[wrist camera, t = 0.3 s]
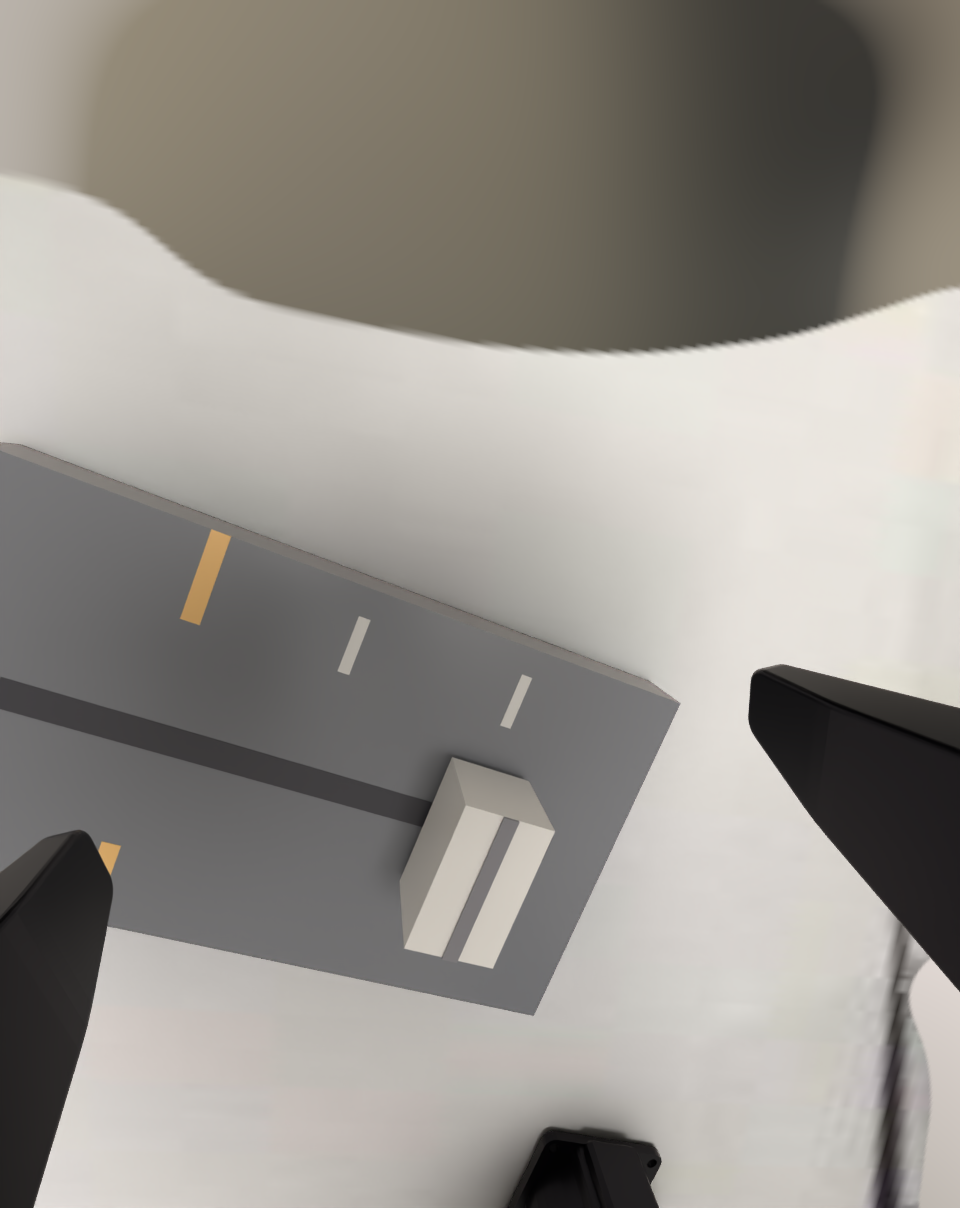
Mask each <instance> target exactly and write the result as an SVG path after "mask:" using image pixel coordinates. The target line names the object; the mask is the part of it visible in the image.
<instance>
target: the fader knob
mask: <svg viewBox="0 0 960 1208" xmlns="http://www.w3.org/2000/svg"><path fill="white" fill-rule="evenodd" d="M554 833H555V830H554V828H553V826H552V824H551V823H550V821H549V819H548V817H547V815H546V813H545V811H544V809H543V807H542V805H541V803H540V801H539V799H538V798H537V796H536V794H535V792H534V790H533V788H532V786H531V784H530V782H529V781H527V780H524V779H521V778H517V777H514V776H511V775H508V774H505V773H501V772H498V771H495V770H492V769H489V768H485V767H482V766H479V765H476V764H473V763H469V762H466V761H463V760H460V759H457V758H453V757H452V759H451V761H450V763H449V766H448V768H447V770H446V773H445V775H444V777H443V780H442V782H441V784H440V787H439V789H438V792H437V794H436V796H435V799H434V801H433V803H432V806H431V808H430V810H429V813H428V815H427V818H426V820H425V822H424V825H423V827H422V829H421V832H420V834H419V836H418V839H417V841H416V843H415V846H414V848H413V851H412V853H411V855H410V858H409V860H408V862H407V865H406V867H405V869H404V872H403V874H402V876H401V879H400V896H401V911H402V926H403V941H404V949H408V950H412V951H417V952H421V953H426V954H430V955H434V956H439V957H442V960H446V961H450V962H455V963H457V962H458V961H461V962H465V963H470V964H474V965H478V966H483V967H487V968H492V969H493V967H494V965H495V963H496V960H497V958H498V956H499V954H500V952H501V949H502V947H503V945H504V943H505V941H506V938H507V936H508V934H509V932H510V930H511V927H512V925H513V923H514V921H515V919H516V916H517V914H518V912H519V910H520V908H521V905H522V903H523V901H524V899H525V897H526V894H527V892H528V890H529V888H530V886H531V883H532V881H533V879H534V877H535V875H536V872H537V870H538V868H539V866H540V864H541V861H542V859H543V857H544V855H545V853H546V850H547V848H548V846H549V844H550V842H551V839H552V837H553V835H554Z"/></svg>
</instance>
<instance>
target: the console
mask: <svg viewBox="0 0 960 1208" xmlns="http://www.w3.org/2000/svg"><path fill="white" fill-rule="evenodd" d="M679 705H680V703H679V702H678V701H676V700H675V699H674V698H672V697H671V696H670V695H668V694H667V693H665V692H664V691H663V690H661V689H660V688H658V687H657V686H656V685H654V684H653V683H652V682H650V681H647V680H645V679H642V678H639V677H637V676H634V675H631V674H629V673H626V672H623V671H621V670H618V669H615V668H613V667H610V666H607V665H605V664H602V663H599V662H597V661H594V660H591V659H589V658H586V657H583V656H581V655H578V654H576V653H573V652H570V651H568V650H565V649H562V648H560V647H557V646H554V645H552V644H549V643H546V642H544V641H541V640H538V639H536V638H533V637H530V636H528V635H525V634H522V633H520V632H517V631H514V630H512V629H509V628H506V627H504V626H501V625H498V624H496V623H493V622H490V621H488V620H485V619H483V618H480V617H477V616H475V615H472V614H469V613H467V612H464V611H461V610H459V609H456V608H453V607H451V606H448V605H445V604H443V603H440V602H437V601H435V600H432V599H429V598H427V597H424V596H421V595H419V594H416V593H413V592H411V591H408V590H405V589H403V588H400V587H398V586H395V585H392V584H390V583H387V582H384V581H382V580H379V579H376V578H374V577H371V576H368V575H366V574H363V573H360V572H358V571H355V570H352V569H350V568H347V567H344V566H342V565H339V564H336V563H334V562H331V561H328V560H326V559H323V558H320V557H318V556H315V555H312V554H310V553H307V552H305V551H302V550H299V549H297V548H294V547H291V546H289V545H286V544H283V543H281V542H278V541H275V540H273V539H270V538H267V537H265V536H262V535H259V534H257V533H254V532H251V531H249V530H246V529H243V528H241V527H238V526H235V525H233V524H230V523H227V522H225V521H222V520H220V519H217V518H214V517H212V516H209V515H206V514H204V513H201V512H198V511H196V510H193V509H190V508H188V507H185V506H182V505H180V504H177V503H174V502H172V501H169V500H166V499H164V498H161V497H158V496H156V495H153V494H150V493H148V492H145V491H142V490H140V489H137V488H134V487H132V486H129V485H127V484H124V483H121V482H119V481H116V480H113V479H111V478H108V477H105V476H103V475H100V474H97V473H95V472H92V471H89V470H87V469H84V468H81V467H79V466H76V465H73V464H71V463H68V462H65V461H63V460H60V459H57V458H55V457H52V456H49V455H47V454H44V453H41V452H39V451H36V450H34V449H31V448H28V447H26V446H23V445H20V444H11V443H1V442H0V872H1V871H2V870H4V869H5V868H6V867H7V866H9V865H10V864H11V863H13V862H14V861H15V860H16V859H18V858H19V857H20V856H21V855H23V854H24V853H25V852H27V851H28V850H29V849H30V848H32V847H33V846H34V845H35V844H37V843H38V842H39V841H41V840H42V839H44V838H46V837H49V836H52V835H57V834H61V833H65V832H69V831H74V830H83V831H85V832H87V833H88V834H89V835H90V837H91V838H92V840H93V842H94V844H95V846H96V848H97V850H98V852H99V854H100V856H101V858H102V860H103V862H104V864H105V866H106V868H107V870H108V872H109V874H110V876H111V879H112V883H113V899H112V904H111V910H110V915H109V920H108V925H107V926H109V927H114V928H119V929H124V930H128V931H133V932H138V933H143V934H147V935H152V936H157V937H162V938H166V939H171V940H176V941H181V942H185V943H190V944H195V945H200V946H204V947H209V948H214V949H219V950H223V951H228V952H233V953H238V954H242V955H247V956H252V957H257V958H261V959H266V960H271V961H276V962H280V963H285V964H290V965H295V966H299V967H304V968H309V969H314V970H318V971H323V972H328V973H333V974H337V975H342V976H347V977H352V978H356V979H361V980H366V981H371V982H375V983H380V984H385V985H390V986H394V987H399V988H404V989H409V990H413V991H418V992H423V993H428V994H432V995H437V996H442V997H447V998H451V999H456V1000H461V1001H466V1002H470V1003H475V1004H480V1005H485V1006H489V1007H494V1008H499V1009H504V1010H508V1011H513V1012H518V1013H523V1014H527V1015H532V1016H534V1014H535V1012H536V1010H537V1008H538V1005H539V1003H540V1001H541V999H542V997H543V995H544V993H545V991H546V988H547V986H548V984H549V982H550V980H551V978H552V976H553V973H554V971H555V969H556V967H557V965H558V963H559V961H560V959H561V956H562V954H563V952H564V950H565V948H566V946H567V944H568V942H569V939H570V937H571V935H572V933H573V931H574V929H575V927H576V925H577V922H578V920H579V918H580V916H581V914H582V912H583V910H584V907H585V905H586V903H587V901H588V899H589V897H590V895H591V893H592V890H593V888H594V886H595V884H596V882H597V880H598V878H599V876H600V873H601V871H602V869H603V867H604V865H605V863H606V861H607V859H608V856H609V854H610V852H611V850H612V848H613V846H614V844H615V842H616V839H617V837H618V835H619V833H620V831H621V829H622V827H623V824H624V822H625V820H626V818H627V816H628V814H629V812H630V810H631V807H632V805H633V803H634V801H635V799H636V797H637V795H638V793H639V790H640V788H641V786H642V784H643V782H644V780H645V778H646V776H647V773H648V771H649V769H650V767H651V765H652V763H653V761H654V758H655V756H656V754H657V752H658V750H659V748H660V746H661V744H662V741H663V739H664V737H665V735H666V733H667V731H668V729H669V727H670V724H671V722H672V720H673V718H674V716H675V714H676V712H677V710H678V707H679ZM452 757H453V758H457V759H460V760H463V761H466V762H469V763H473V764H476V765H479V766H482V767H485V768H489V769H492V770H495V771H498V772H501V773H505V774H508V775H511V776H514V777H517V778H521V779H524V780H527V781H529V782H530V784H531V786H532V788H533V790H534V792H535V794H536V796H537V798H538V799H539V801H540V803H541V805H542V807H543V809H544V811H545V813H546V815H547V817H548V819H549V821H550V823H551V824H552V826H553V828H554V830H555V833H554V835H553V837H552V839H551V842H550V844H549V846H548V848H547V850H546V853H545V855H544V857H543V859H542V861H541V864H540V866H539V868H538V870H537V872H536V875H535V877H534V879H533V881H532V883H531V886H530V888H529V890H528V892H527V894H526V897H525V899H524V901H523V903H522V905H521V908H520V910H519V912H518V914H517V916H516V919H515V921H514V923H513V925H512V927H511V930H510V932H509V934H508V936H507V938H506V941H505V943H504V945H503V947H502V949H501V952H500V954H499V956H498V958H497V960H496V963H495V965H494V967H493V969H492V968H487V967H483V966H478V965H474V964H470V963H465V962H461V961H458V962H457V963H455V962H450V961H446V960H442V957H439V956H434V955H430V954H426V953H421V952H417V951H412V950H408V949H404V941H403V926H402V911H401V896H400V879H401V876H402V874H403V872H404V869H405V867H406V865H407V862H408V860H409V858H410V855H411V853H412V851H413V848H414V846H415V843H416V841H417V839H418V836H419V834H420V832H421V829H422V827H423V825H424V822H425V820H426V818H427V815H428V813H429V810H430V808H431V806H432V803H433V801H434V799H435V796H436V794H437V792H438V789H439V787H440V784H441V782H442V780H443V777H444V775H445V773H446V770H447V768H448V766H449V763H450V761H451V759H452Z"/></svg>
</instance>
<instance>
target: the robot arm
mask: <svg viewBox="0 0 960 1208" xmlns="http://www.w3.org/2000/svg"><path fill="white" fill-rule="evenodd" d="M748 719H749V725H750V728H751V731H752V733H753V734H754V736H755V738H756V739H757V741H758V742H759V743H760V745H761V746H762V748H763V749H764V751H765V752H766V753H767V755H768V756H769V758H770V759H771V761H772V762H773V763H774V765H775V766H776V768H777V769H778V771H779V772H780V773H781V775H782V776H783V778H784V779H785V781H786V782H787V783H788V785H789V786H790V788H791V789H792V791H793V792H794V793H795V795H796V796H797V798H798V799H799V801H800V802H801V803H802V805H803V806H804V808H805V809H806V810H807V812H808V813H809V814H810V816H811V817H812V818H813V820H814V821H815V822H816V824H817V825H818V826H819V827H820V828H821V830H822V831H823V832H824V833H825V835H826V836H827V837H828V838H829V839H830V841H831V842H832V843H833V844H834V845H835V846H836V848H837V849H838V850H839V851H840V852H841V853H842V855H843V856H844V857H845V858H846V859H847V860H848V862H849V863H850V864H851V865H852V866H853V868H854V869H855V870H856V871H857V872H858V873H859V875H860V876H861V877H862V878H863V879H864V880H865V882H866V883H867V884H868V885H869V886H870V887H871V889H872V890H873V891H874V892H875V893H876V894H877V896H878V897H879V898H880V899H881V900H882V901H883V903H884V904H885V905H886V906H887V907H888V908H889V910H890V911H891V912H892V913H893V914H894V916H895V917H896V918H897V919H898V920H899V921H900V923H901V924H902V925H903V926H904V927H905V928H906V930H907V931H908V932H909V933H910V934H911V935H912V937H913V938H914V939H915V940H916V941H917V942H918V944H919V945H920V946H921V947H922V948H923V949H924V951H925V952H926V953H927V954H928V955H929V957H930V958H931V959H932V960H933V961H934V962H935V964H936V965H937V966H938V967H939V968H940V969H941V970H942V972H943V973H944V974H945V975H946V976H947V977H948V978H949V980H950V981H951V982H952V983H953V985H954V986H955V987H956V988H957V989H958V990H959V992H960V708H957V707H953V706H949V705H945V704H941V703H937V702H933V701H929V700H925V699H921V698H917V697H913V696H909V695H905V694H901V693H897V692H893V691H889V690H885V689H881V688H877V687H873V686H869V685H865V684H861V683H857V682H853V681H849V680H845V679H841V678H837V677H833V676H829V675H825V674H821V673H817V672H813V671H809V670H805V669H801V668H797V667H793V666H789V665H784V664H779V665H774V666H770V667H766V668H762V669H758V670H756V671H755V672H754V673H753V675H752V677H751V686H750V700H749V714H748ZM112 899H113V883H112V879H111V876H110V874H109V872H108V870H107V868H106V866H105V864H104V862H103V860H102V858H101V856H100V854H99V852H98V850H97V848H96V846H95V844H94V842H93V840H92V838H91V837H90V835H89V834H88V833H87V832H85V831H83V830H74V831H69V832H65V833H61V834H57V835H52V836H49V837H46V838H44V839H42V840H41V841H39V842H38V843H37V844H35V845H34V846H33V847H32V848H30V849H29V850H28V851H27V852H25V853H24V854H23V855H21V856H20V857H19V858H18V859H16V860H15V861H14V862H13V863H11V864H10V865H9V866H7V867H6V868H5V869H4V870H2V871H1V872H0V1208H33V1207H34V1204H35V1201H36V1197H37V1194H38V1191H39V1187H40V1184H41V1181H42V1178H43V1174H44V1171H45V1168H46V1164H47V1161H48V1158H49V1154H50V1151H51V1148H52V1144H53V1141H54V1138H55V1134H56V1131H57V1128H58V1124H59V1121H60V1118H61V1114H62V1111H63V1108H64V1104H65V1101H66V1098H67V1094H68V1091H69V1088H70V1084H71V1081H72V1078H73V1074H74V1071H75V1068H76V1064H77V1061H78V1058H79V1055H80V1051H81V1048H82V1044H83V1040H84V1037H85V1033H86V1030H87V1026H88V1021H89V1017H90V1012H91V1008H92V1003H93V998H94V993H95V988H96V982H97V977H98V972H99V967H100V962H101V956H102V951H103V946H104V941H105V936H106V930H107V925H108V920H109V915H110V910H111V904H112ZM661 1162H662V1161H661V1157H660V1155H659V1152H658V1150H657V1149H656V1148H655V1147H652V1146H646V1145H640V1144H634V1143H627V1142H621V1141H615V1140H609V1139H603V1138H596V1137H590V1136H584V1135H578V1134H572V1133H565V1132H559V1131H550V1132H547V1133H546V1134H544V1136H543V1137H542V1139H541V1141H540V1143H539V1145H538V1147H537V1149H536V1151H535V1153H534V1155H533V1157H532V1159H531V1161H530V1163H529V1165H528V1167H527V1169H526V1171H525V1173H524V1176H523V1178H522V1180H521V1182H520V1184H519V1186H518V1188H517V1190H516V1192H515V1194H514V1196H513V1198H512V1200H511V1202H510V1204H509V1206H508V1208H659V1206H658V1204H657V1201H656V1199H655V1196H654V1193H653V1191H652V1188H651V1186H650V1184H651V1182H652V1181H653V1179H654V1177H655V1175H656V1173H657V1171H658V1169H659V1167H660V1165H661Z"/></svg>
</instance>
